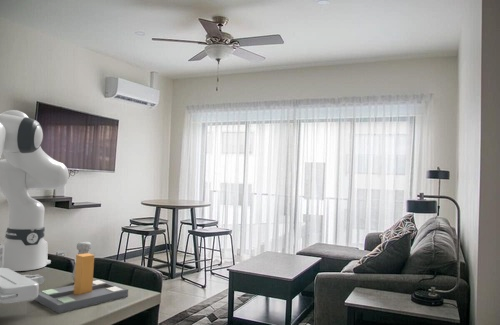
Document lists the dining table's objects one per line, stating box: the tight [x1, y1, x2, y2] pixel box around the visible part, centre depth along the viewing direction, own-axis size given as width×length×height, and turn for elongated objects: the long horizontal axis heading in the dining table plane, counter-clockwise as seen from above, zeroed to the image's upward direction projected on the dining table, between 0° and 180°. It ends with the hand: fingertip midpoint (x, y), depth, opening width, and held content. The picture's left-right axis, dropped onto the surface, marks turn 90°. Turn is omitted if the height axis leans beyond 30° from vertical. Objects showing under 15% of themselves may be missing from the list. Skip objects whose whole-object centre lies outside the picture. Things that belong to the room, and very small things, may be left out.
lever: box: [73, 252, 95, 295], centre depth 108 cm, size 4×4×11 cm
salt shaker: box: [71, 241, 92, 282], centre depth 122 cm, size 6×6×13 cm
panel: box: [33, 279, 129, 314], centre depth 107 cm, size 14×20×2 cm
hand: (42, 278), depth 99 cm, fingers closed
